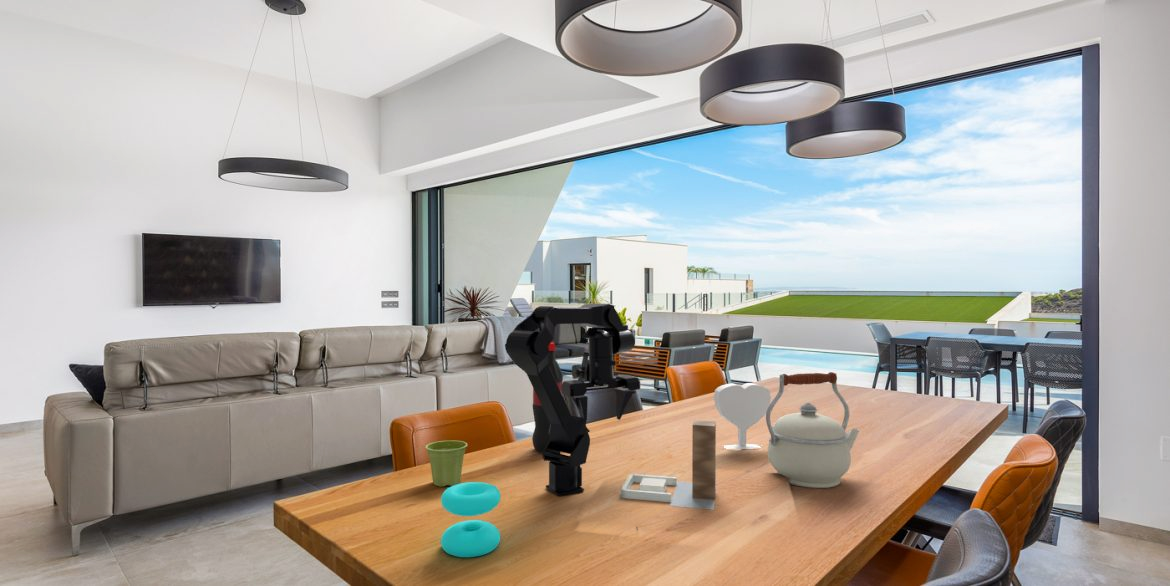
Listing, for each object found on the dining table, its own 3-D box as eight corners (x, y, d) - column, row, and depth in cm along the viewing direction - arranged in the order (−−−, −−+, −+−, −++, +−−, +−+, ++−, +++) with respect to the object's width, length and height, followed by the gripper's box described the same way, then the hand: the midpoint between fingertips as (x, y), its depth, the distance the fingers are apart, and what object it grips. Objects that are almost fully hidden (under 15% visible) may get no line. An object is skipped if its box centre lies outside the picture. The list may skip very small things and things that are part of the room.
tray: (620, 504, 122) (620, 490, 122) (630, 487, 133) (630, 473, 133) (670, 509, 120) (670, 494, 120) (676, 490, 131) (676, 477, 131)
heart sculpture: (763, 444, 172) (763, 382, 172) (771, 448, 167) (772, 384, 167) (712, 446, 169) (712, 383, 169) (719, 451, 164) (719, 386, 164)
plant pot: (416, 485, 134) (416, 447, 134) (444, 474, 142) (444, 438, 142) (448, 492, 130) (448, 452, 130) (475, 480, 138) (475, 442, 138)
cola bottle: (561, 454, 161) (562, 343, 161) (530, 454, 161) (530, 343, 161) (563, 446, 169) (563, 341, 169) (534, 446, 169) (534, 340, 169)
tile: (639, 499, 124) (639, 484, 124) (643, 491, 129) (643, 477, 129) (663, 501, 123) (663, 486, 123) (666, 493, 128) (666, 479, 128)
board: (669, 513, 117) (669, 505, 117) (677, 487, 133) (677, 481, 133) (713, 517, 115) (713, 509, 115) (716, 491, 131) (716, 484, 131)
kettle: (791, 495, 128) (791, 380, 128) (746, 471, 146) (746, 369, 146) (887, 486, 135) (887, 376, 135) (833, 463, 152) (833, 366, 152)
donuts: (435, 499, 96) (447, 479, 106) (435, 560, 96) (447, 535, 106) (497, 498, 97) (503, 479, 107) (496, 560, 97) (503, 535, 107)
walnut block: (692, 497, 122) (692, 424, 122) (693, 490, 126) (694, 420, 126) (714, 499, 121) (714, 426, 121) (715, 492, 125) (715, 421, 125)
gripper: (618, 350, 153) (619, 410, 153) (551, 355, 144) (552, 419, 144) (641, 354, 143) (642, 419, 143) (570, 360, 134) (571, 429, 135)
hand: (601, 421), depth 141 cm, fingers open, 9 cm apart
